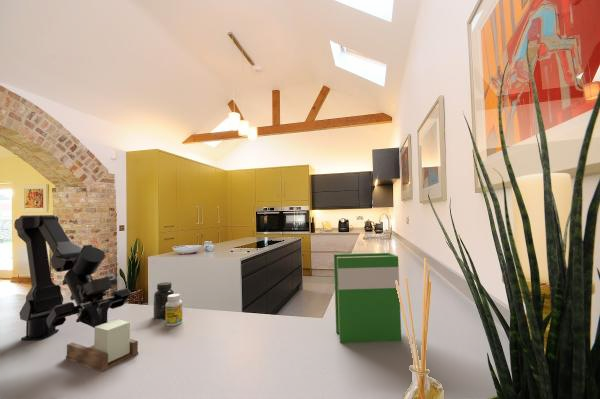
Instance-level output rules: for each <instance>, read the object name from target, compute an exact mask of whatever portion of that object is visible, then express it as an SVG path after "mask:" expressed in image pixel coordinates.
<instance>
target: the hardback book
mask: <svg viewBox="0 0 600 399" xmlns="http://www.w3.org/2000/svg"><path fill="white" fill-rule="evenodd" d="M333 264H334V266H333V268H334V300H335V304H334V305H335V306H334V307H335V332H336V334H339V343H340V344H354V343H377V342H378V343H381V342H402V322H401V301H400V302H399V298H398V294H397V290H396V284H395V280H397V281H398V285H399V286H400V270H399V269H400V268H399V256H398V255H395V254H394V253H390V252H378V253H377V252H375V253H374V252H372V253H369V252H368V253H365V252H364V253H342V254H341V253H337V254H336V253H334V254H333Z"/></svg>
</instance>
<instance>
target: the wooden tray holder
mask: <svg viewBox="0 0 600 399" xmlns="http://www.w3.org/2000/svg"><path fill="white" fill-rule="evenodd" d="M138 346H139V340H135V339H132V338H130V353H128V354H126V355H124V356H122V357H120V358H118V359H115V360H113V361H111V362H109V363H108V354H107V353H103V352H100V351H97V350H94V344H93V345H91V346H88V347H87V346H84V345H81V344H78V343H75V342H69V343H67V344H66V355H65V359H66V360H68V361H71V362H74V363H77V364H79V365H81V366H85V367H87V368H90V369H92V370H95V371H98V372H101V373H103V372H104V371H107V370H109V369H111V368H113V367H115V366H118V365H119V364H121V363H123V362H125V361H128V360H129V358H130V359H131V357H132V358H133V357H136V356H137V355H139V350H138V349H139V348H138Z"/></svg>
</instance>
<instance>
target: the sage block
mask: <svg viewBox="0 0 600 399" xmlns="http://www.w3.org/2000/svg"><path fill="white" fill-rule="evenodd" d="M130 326H131V322H130V321H126V320H123V319H118V318H116V319H114V320H111V321H107V323H104V324H101V325H99V326H96V327H95V328H94V337H93V338H94V344H93V345H94V350H97V351H100V352H103V353H107V354H108V363H109V362H111V361H113V360H115V359H118V358H120V357H122V356H124V355H126V354H128V353H130V339H131V336H130V335H131V333H130V332H131V327H130Z"/></svg>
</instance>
